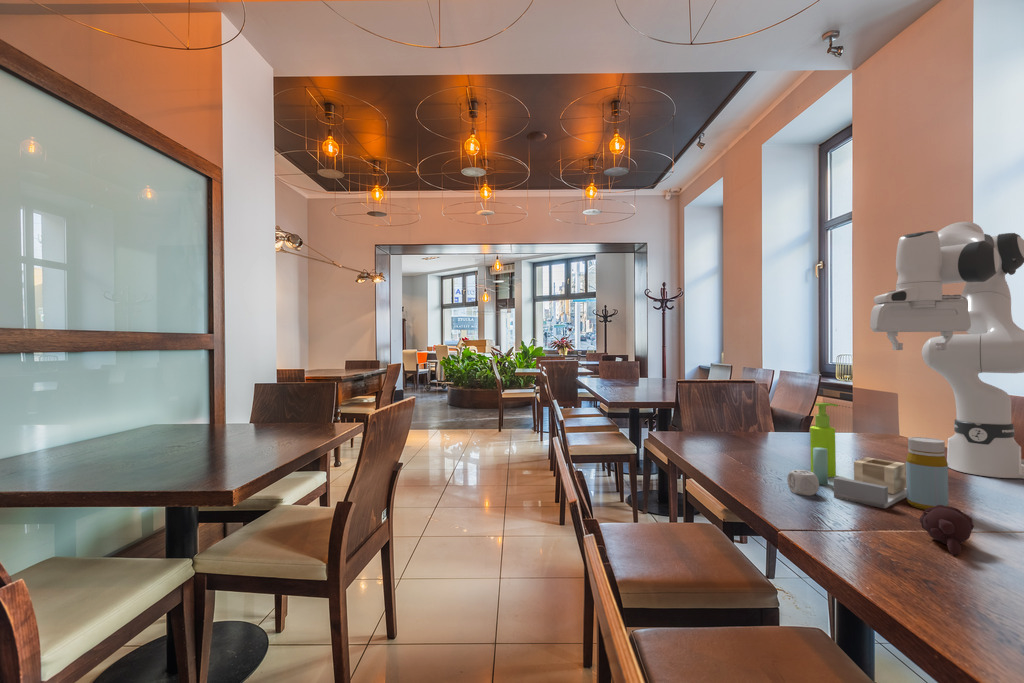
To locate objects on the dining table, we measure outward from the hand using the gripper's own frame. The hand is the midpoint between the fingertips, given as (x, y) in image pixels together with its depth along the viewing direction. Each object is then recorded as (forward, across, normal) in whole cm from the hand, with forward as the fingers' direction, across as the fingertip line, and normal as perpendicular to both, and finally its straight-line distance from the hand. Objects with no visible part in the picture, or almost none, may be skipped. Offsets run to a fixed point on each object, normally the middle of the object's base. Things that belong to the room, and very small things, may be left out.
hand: (919, 350), depth 119 cm
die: (+36, +30, +9) cm, 47 cm away
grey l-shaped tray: (+35, +14, +8) cm, 39 cm away
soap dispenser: (+35, +18, -10) cm, 41 cm away
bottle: (+35, +6, +15) cm, 39 cm away
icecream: (+36, +15, +36) cm, 53 cm away
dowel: (+35, +22, -1) cm, 42 cm away
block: (+34, +11, +5) cm, 36 cm away
